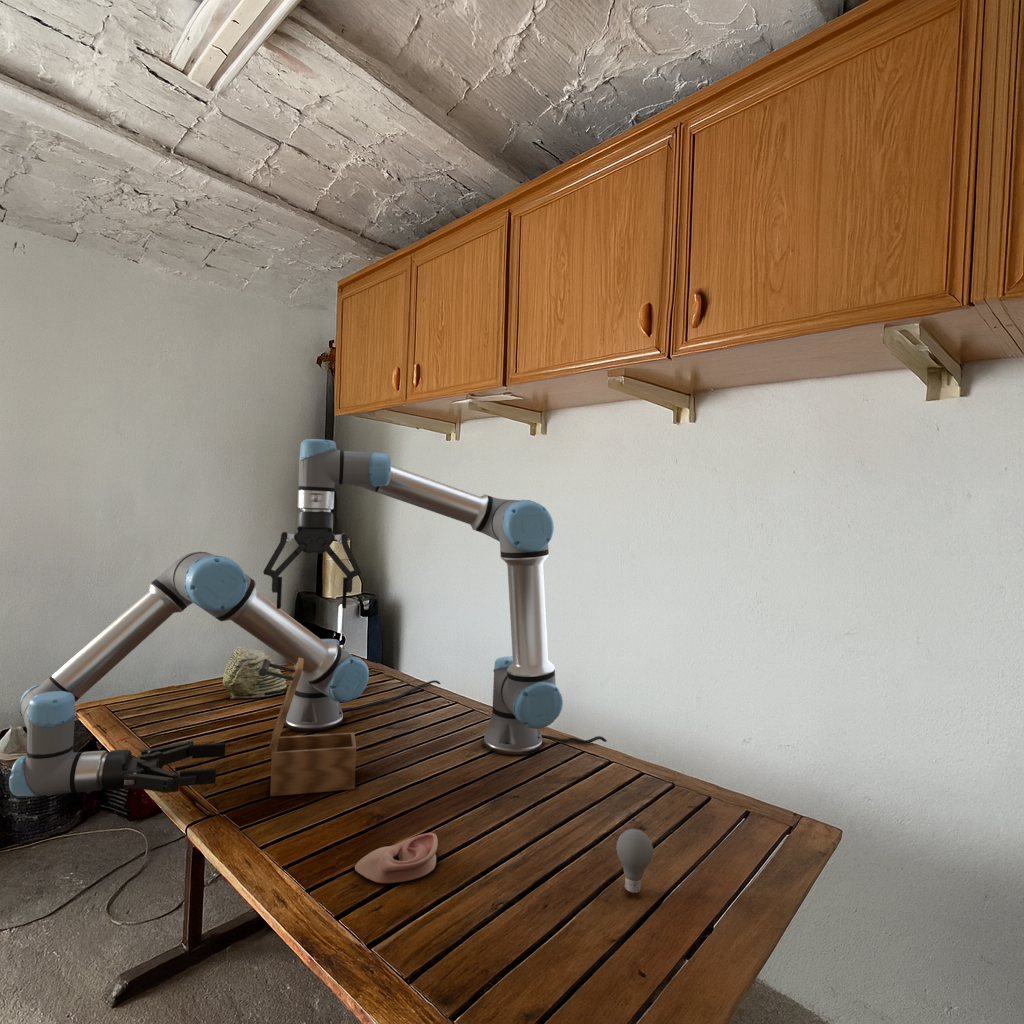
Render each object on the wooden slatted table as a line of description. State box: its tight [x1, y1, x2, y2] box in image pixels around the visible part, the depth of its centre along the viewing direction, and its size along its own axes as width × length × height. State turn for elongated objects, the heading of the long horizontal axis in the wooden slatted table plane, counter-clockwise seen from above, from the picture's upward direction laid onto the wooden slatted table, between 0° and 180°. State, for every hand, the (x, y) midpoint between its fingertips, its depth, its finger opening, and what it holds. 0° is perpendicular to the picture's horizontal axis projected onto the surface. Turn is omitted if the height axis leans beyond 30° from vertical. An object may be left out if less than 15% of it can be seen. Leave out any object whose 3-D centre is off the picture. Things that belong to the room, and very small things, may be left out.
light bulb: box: [615, 828, 654, 894], centre depth 106 cm, size 6×6×10 cm
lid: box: [258, 658, 304, 751], centre depth 137 cm, size 18×9×8 cm
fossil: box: [222, 646, 288, 699], centre depth 198 cm, size 9×18×15 cm, turn 132°
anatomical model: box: [354, 832, 439, 884], centre depth 110 cm, size 13×4×12 cm
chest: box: [269, 731, 357, 797], centre depth 140 cm, size 17×9×9 cm, turn 107°
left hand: (220, 762), depth 134 cm, fingers open, 13 cm apart
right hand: (311, 607), depth 139 cm, fingers open, 13 cm apart
